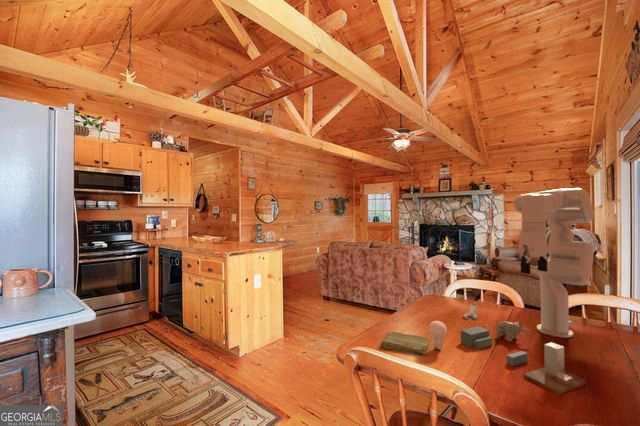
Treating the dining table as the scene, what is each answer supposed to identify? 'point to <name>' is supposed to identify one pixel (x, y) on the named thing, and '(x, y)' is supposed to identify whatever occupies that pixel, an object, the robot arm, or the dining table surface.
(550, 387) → the walnut board
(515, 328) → the grey monster figurine
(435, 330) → the light bulb
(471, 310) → the adjustable wrench
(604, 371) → the dining table surface
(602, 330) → the dining table surface
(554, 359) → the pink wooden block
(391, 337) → the washcloth
